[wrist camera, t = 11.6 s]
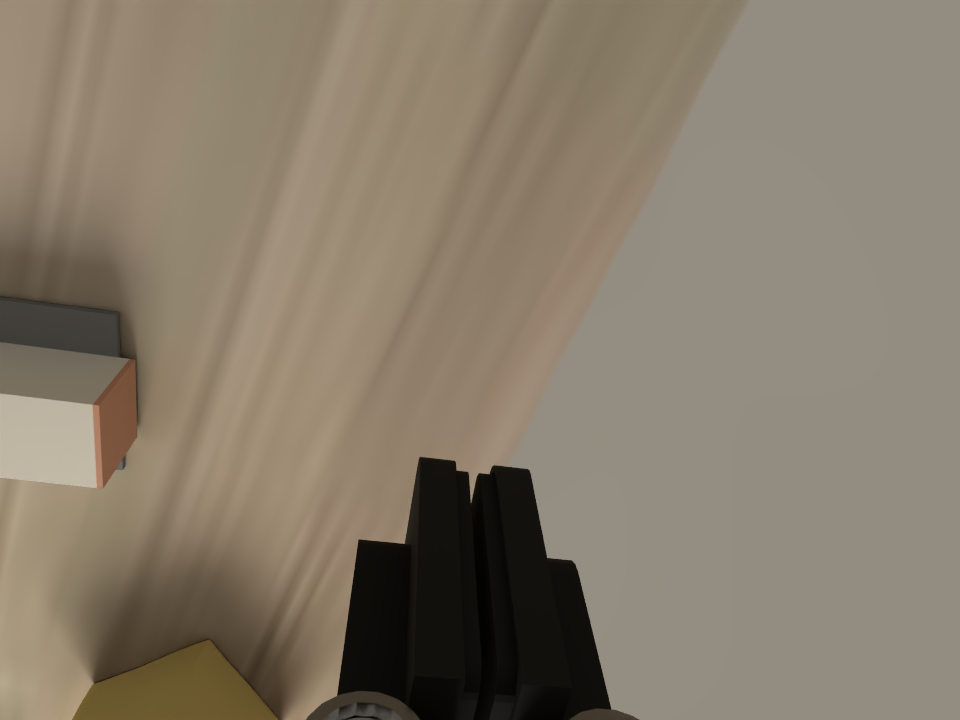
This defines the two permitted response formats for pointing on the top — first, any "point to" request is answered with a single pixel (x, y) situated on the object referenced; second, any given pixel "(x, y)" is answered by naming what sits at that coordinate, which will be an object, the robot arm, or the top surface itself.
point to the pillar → (64, 415)
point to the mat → (60, 328)
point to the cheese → (176, 691)
